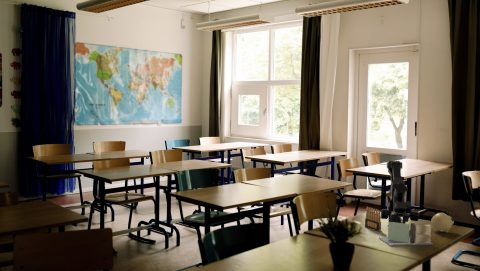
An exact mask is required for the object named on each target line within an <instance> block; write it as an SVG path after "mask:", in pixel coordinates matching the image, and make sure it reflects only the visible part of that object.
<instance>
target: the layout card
mask: <svg viewBox="0 0 480 271" xmlns="http://www.w3.org/2000/svg"><path fill="white" fill-rule="evenodd" d="M378 239H379V240H381V241H382V242H383V243H385V244H386V245H388V246H389V247H406V246H407V247H408V246H412V247H413V246H429V245H431V246H432V245H434V243H432V242H431V241H430V243H415V244H411V243H410V235H409V242H403V241H395V240H388V236H383V237H378Z"/></svg>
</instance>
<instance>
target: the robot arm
mask: <svg viewBox="0 0 480 271" xmlns="http://www.w3.org/2000/svg"><path fill="white" fill-rule="evenodd" d="M386 169H387V173H388V174H389V175H390V195H391V199H390V200H389V203H388V205H387V208H386V209H384V208H382V209H381V210H380V217H381V220H387V221H388V222H396V223H404V224H407V223H408V222H409V220H410V222H419V219H420V212H419V211H417V210H411V211H410V213H406V212H407V209H410V207H411V205H410V204H411V203H410V201H409V200H408V201H407V200H405V199H406V195H407V192H408V190H409V188H408V186H407V185H406V184H405V180H403V179H402V173H401V172H402V169H403V162H402V161H400V160H388V161H387V162H386ZM388 222H387V223H388Z"/></svg>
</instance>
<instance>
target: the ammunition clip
mask: <svg viewBox="0 0 480 271" xmlns="http://www.w3.org/2000/svg"><path fill="white" fill-rule="evenodd" d="M365 210H366V211H365V212H366V213H365V218H364V228H367V229H370V230H373V231H377V232H382V222H381V220H382V219H381V210H380V209H377V208H376V209H375V207H370V206H369V207H368V206H366V209H365Z"/></svg>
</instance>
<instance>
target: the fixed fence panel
mask: <svg viewBox="0 0 480 271" xmlns="http://www.w3.org/2000/svg"><path fill="white" fill-rule="evenodd" d="M431 234H432V224H416V223H414V222H411V223H410V224H409V236H410V243H411V244H415V243H430V242H431V240H432V239H431V238H432V235H431Z"/></svg>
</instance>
